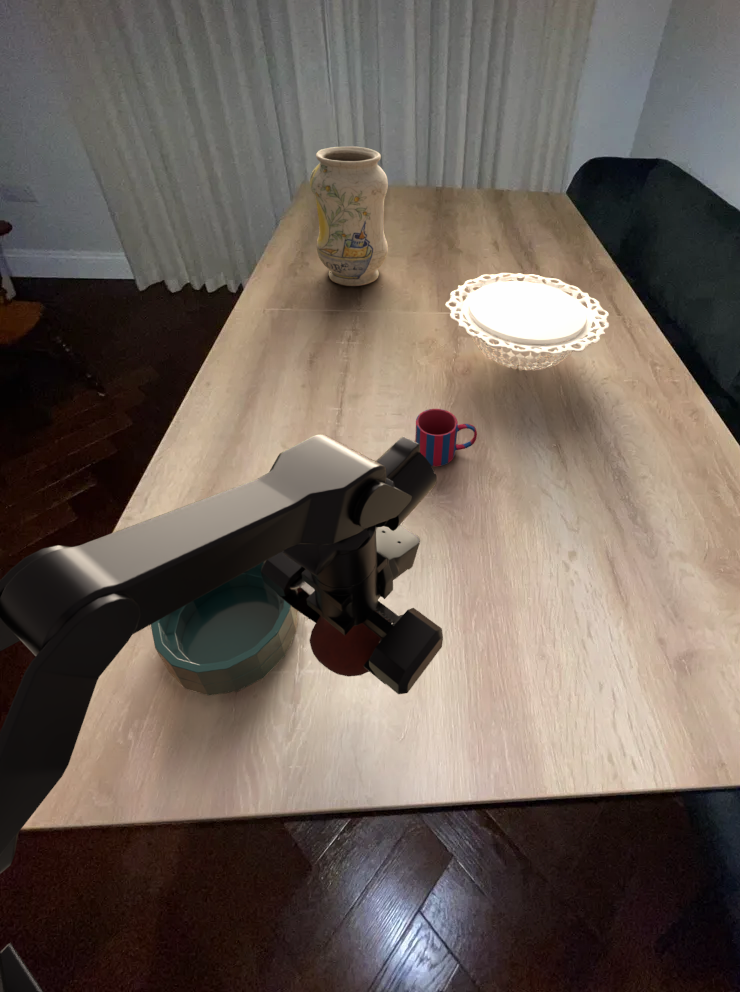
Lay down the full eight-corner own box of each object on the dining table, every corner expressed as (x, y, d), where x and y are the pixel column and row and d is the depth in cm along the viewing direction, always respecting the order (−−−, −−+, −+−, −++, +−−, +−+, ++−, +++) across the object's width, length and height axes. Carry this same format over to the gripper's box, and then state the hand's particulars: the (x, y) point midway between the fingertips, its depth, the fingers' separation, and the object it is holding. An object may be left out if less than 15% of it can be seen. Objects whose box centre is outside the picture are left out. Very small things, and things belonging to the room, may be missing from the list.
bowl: (219, 726, 55) (206, 702, 51) (140, 642, 61) (124, 615, 58) (322, 620, 65) (318, 593, 61) (245, 556, 71) (237, 528, 67)
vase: (323, 259, 144) (312, 140, 126) (389, 261, 146) (388, 144, 127) (314, 290, 130) (300, 162, 112) (387, 292, 132) (386, 166, 113)
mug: (418, 436, 91) (419, 406, 87) (475, 442, 91) (479, 413, 87) (412, 464, 86) (412, 433, 82) (473, 471, 86) (477, 440, 81)
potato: (313, 624, 59) (307, 589, 54) (389, 614, 60) (389, 580, 56) (311, 694, 53) (304, 661, 49) (396, 681, 55) (395, 648, 50)
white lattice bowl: (413, 348, 113) (414, 295, 105) (518, 309, 129) (526, 260, 121) (518, 432, 94) (529, 374, 86) (626, 373, 110) (643, 320, 102)
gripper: (483, 553, 47) (468, 639, 57) (334, 459, 55) (343, 548, 65) (404, 652, 40) (402, 732, 50) (245, 527, 48) (270, 616, 58)
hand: (353, 646), depth 56 cm, fingers closed on potato, 8 cm apart
